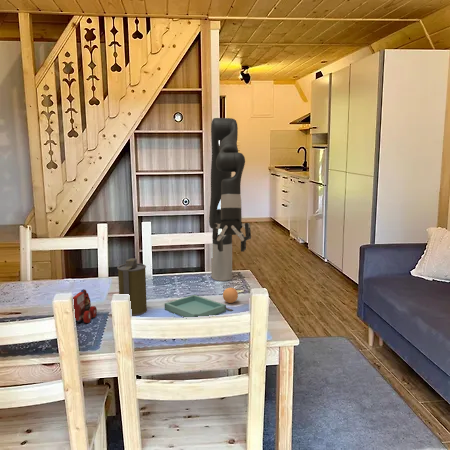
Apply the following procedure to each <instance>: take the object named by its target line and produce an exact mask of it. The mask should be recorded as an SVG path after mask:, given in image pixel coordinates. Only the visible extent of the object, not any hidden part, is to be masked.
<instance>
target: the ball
mask: <svg viewBox="0 0 450 450" xmlns="http://www.w3.org/2000/svg"><path fill="white" fill-rule="evenodd" d="M238 298H239V293H238V291H237V289H236V288H234V287H228V288H226V289H224V290H223V293H222V299H223V300H224V302H226V303H228V304H232V303H234V302H236V301H237V299H238Z"/></svg>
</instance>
